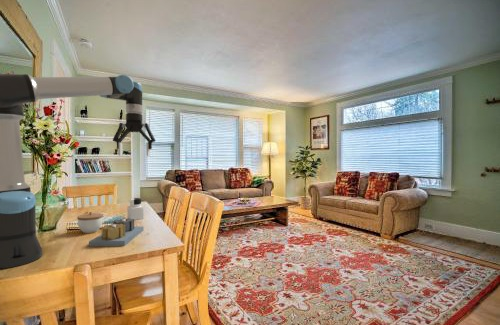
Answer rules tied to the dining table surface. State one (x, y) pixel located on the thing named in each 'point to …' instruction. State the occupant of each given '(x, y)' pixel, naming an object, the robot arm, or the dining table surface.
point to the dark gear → (126, 223)
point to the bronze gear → (112, 231)
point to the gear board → (119, 241)
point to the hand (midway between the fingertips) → (134, 155)
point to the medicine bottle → (135, 209)
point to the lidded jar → (90, 222)
